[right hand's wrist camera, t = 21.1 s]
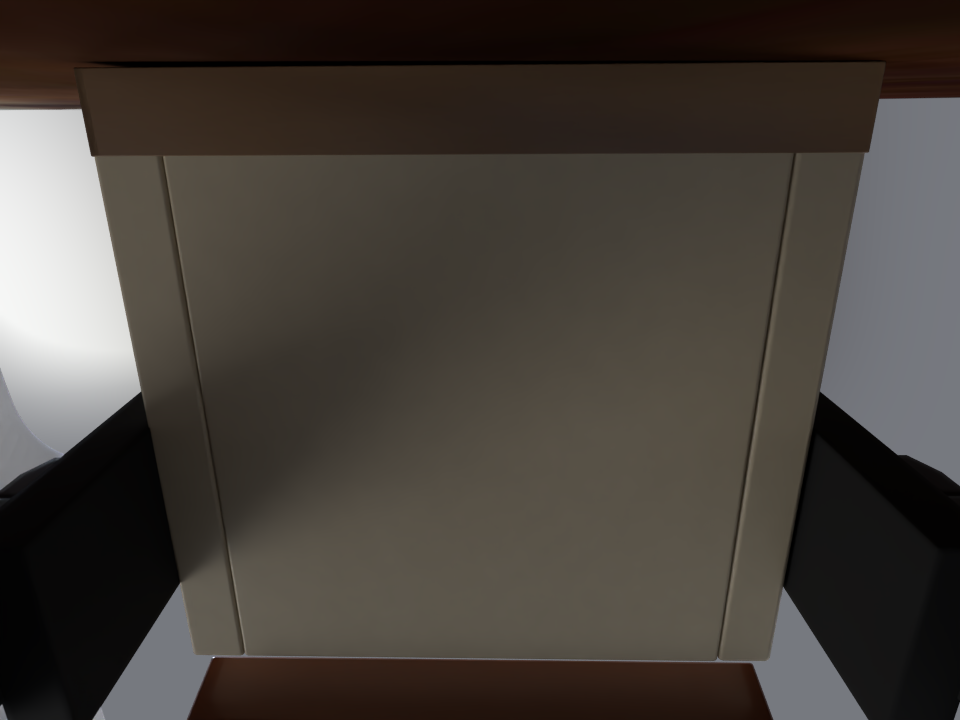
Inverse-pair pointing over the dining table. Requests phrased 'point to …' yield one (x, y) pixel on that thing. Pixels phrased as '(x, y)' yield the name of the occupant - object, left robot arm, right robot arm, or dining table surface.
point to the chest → (481, 344)
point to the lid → (476, 690)
